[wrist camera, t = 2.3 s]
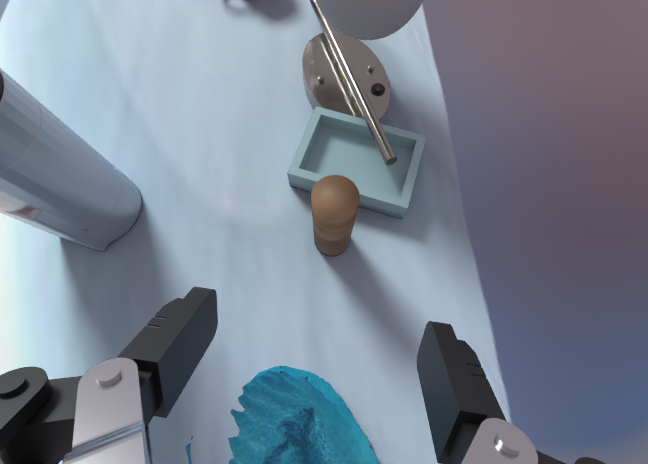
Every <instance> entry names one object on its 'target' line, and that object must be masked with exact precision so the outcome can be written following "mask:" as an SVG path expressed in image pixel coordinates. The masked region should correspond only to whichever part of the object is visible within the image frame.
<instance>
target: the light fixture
mask: <svg viewBox="0 0 648 464" xmlns="http://www.w3.org/2000/svg"><path fill="white" fill-rule="evenodd" d="M422 2H423V0H310V3H311V5H312V7H313V10H314V12H315V14H316V16H317V18H318V21H319V23H320V25H321V27H322V29H323V31H324V33H321V34H319V35H317V36H315V37H314V38H313V39H312V40H311V41H310V42H309V43H308V44H307V46H306V48H305V51H304V54H303V81H304V87H305V91H306V95H307V97H308V99H309V102H310V104H311V105H312V107H313V109H315V107H316V106H317V107H321V108H324V109H328V110H332V111H336V112H339V113H343V114H347V115H351V116H355V117H358V118H362V119H364V120H365V122H366V124H367V126H368V128H369V131H370V133H371V135H372V137H373V139H374V141H375V144H376V146H377V148H378V150H379V152H380V154H381V156H382V159H383V161H384V163H385V165H387V166H389V165H392V164H394V163H395V162H396V161H397V156H396V154H395V152H394V150H393V148H392V146H391V144H390V142H389V140H388V138H387V136H386V134H385V132H384V130H383V127H382V125H381V124H383V122H384V120H385V117H386V113H387V110H388V106H389V102H390V85H389V81H388V77H387V75H386V72H385V70H384V68H383V66H382V64H381V62H380V61H379V59H378V58H377V57H376V55H375V54H374V53H373V52H372V51H371V50H370V49H369V48H368V47H367V46H366V45H365V44H363V43H362V42H361V41H359V40H358V39H361V40H375V39H380V38H384V37H386V36H389V35H391V34H393V33H395V32H396V31H398V30H399V29H400V28H402V27H403V26H404V25H405V24H406V23H407V22H408V21H409V20H410V19H411V18H412V17H413V16H414V14H415V13H416V12H417V10H418V9H419V7H420V5H421V4H422ZM333 26H334V27H336V28H337V29H338V30H339V31H340V32H336V31H335V29H334V27H333ZM341 32H342V33H341Z"/></svg>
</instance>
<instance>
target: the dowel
mask: <svg viewBox="0 0 648 464" xmlns="http://www.w3.org/2000/svg"><path fill="white" fill-rule="evenodd" d="M359 200H360V194H359V190H358V188H357V186H356V185H355V184H354V182H353V181H351V180H350V179H348V178H347V177H344V176H341V175H329V176H326V177H324V178H322V179H320V180H319V181H318V182H317V183H316V184H315V185H314V187H313V189H312V192H311V205H312V217H313V229H314V241H315V245H316V247H317V249H318V250H319V251H320V252H321V253H322V254H324V255H327V256H337V255H340V254H342V253H343V252H344V251H345V250H346V249H347V247H348V245H349V241H350V237H351V233H352V229H353V225H354V221H355V216H356V212H357V208H358V204H359Z"/></svg>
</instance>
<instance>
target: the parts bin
mask: <svg viewBox="0 0 648 464" xmlns="http://www.w3.org/2000/svg"><path fill="white" fill-rule="evenodd" d="M381 125H382V127H383V130H384V132H385V134H386V136H387V138H388V140H389V142H390V144H391V146H392V148H393V150H394V152H395V154H396V156H397V161H396V162H395V163H394V164H392V165H389V166H387V165H385V163H384V161H383V159H382V156H381V154H380V152H379V150H378V148H377V146H376V144H375V141H374V139H373V137H372V135H371V133H370V131H369V128H368V126H367V124H366V122H365V120H364V119H362V118H358V117H355V116H351V115H347V114H343V113H339V112H336V111H332V110H328V109H324V108H321V107H317V106H316V107H315V109H314V112H313V114H312V116H311V119H310V121H309V123H308V126H307V128H306V130H305V133H304V135H303V137H302V140H301V142H300V144H299V147H298V149H297V151H296V154H295V156H294V158H293V161H292V163H291V166H290V168H289V170H288V173H287V174H288V179H289V183H290V186H292V187H296V188H299V189H302V190H306V191H309V192H312V189H313V187H314V185H315V184H316V183H317V182H318V181H319V180H320V179H322V178H324V177H326V176H329V175H341V176H344V177H347V178H348V179H350V180H351V181H353V182H354V184H355V185H356V186H357V188H358V190H359V194H360V200H359V204H358V206H359V207H363V208H366V209H369V210H373V211H376V212H380V213H383V214H386V215H390V216H393V217H396V218H400V219H402V217H403V216H404V214H405V212H406V211H407V209H408V206H409V202H410V199H411V195H412V191H413V187H414V183H415V179H416V176H417V172H418V168H419V164H420V160H421V157H422V153H423V149H424V145H425V141H426V137H427V136H426V135H422V134H418V133H415V132H411V131H407V130H403V129H400V128H396V127H392V126H388V125H385V124H381Z"/></svg>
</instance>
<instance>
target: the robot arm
mask: <svg viewBox="0 0 648 464" xmlns="http://www.w3.org/2000/svg"><path fill="white" fill-rule="evenodd" d="M141 203H142V201H141V194H140V192H139V190H138V188H137V187H136V185H135V184H134V183H133V182H132V181H131V180H130V179H128V177H126V175H124V174H123V173H122V172H121V171H119V170H118V169H117V168H116V167H114V166H113V165H112V164H111V163H110V162H109V161H107V160H106V159H105V158H104V157H103V156H102V155H101V154H99V153H98V152H97V151H96V150H95V149H94V148H92V147H91V146H90V145H89V144H88V143H87V142H85V141H84V140H83V139H82V138H81V137H80V136H78V135H77V134H76V133H75V132H74V131H73V130H71V129H70V128H69V127H68V126H67V125H66V124H64V123H63V122H62V121H61V120H60V119H59V118H57V117H56V116H55V115H54V114H53V113H52V112H51V111H49V110H48V109H47V108H46V107H45V106H44V105H42V104H41V103H40V102H39V101H38V100H37V99H35V98H34V97H33V96H32V95H31V94H30V93H29V92H27V91H26V90H25V89H24V88H23V87H22V86H20V85H19V84H18V83H17V82H16V81H15V80H13V79H12V78H11V77H10V76H9V75H8V74H6V73H5V72H4V71H3V70H2V69H1V68H0V213H3V214H5V215H8V216H10V217H12V218H15V219H17V220H20V221H22V222H24V223H27V224H29V225H32V226H34V227H36V228H39V229H41V230H44V231H46V232H48V233H51V234H53V235H56V236H58V237H61V238H64V239H67V240H70V241H72V242H75V243H78V244H81V245H84V246H87V247H90V248H93V249H95V250H98V251H102V252H103V251H104V250H105V249H106V247H107V246H108V245H109V243H111V242H112V241H114V240H116V239H118V238H119V237H121V236H122V235H123V234H125V233H126V232H127V231H128V230H129V229H130V228H131V227H132V226H133V224H134V223H135V221H136V220H137V218H138V216H139V213H140V210H141ZM217 324H218V317H217V295H216V291H215V290H214V289H207V288H201V287H193V288H192V289H191V291H190V292H189V293H188V294H187V295H186V296H185V298H184V299H181V298H177V299H175V300H173V301H172V302H170V303H168V304H166V305H165V306H164V307H163V308H162V309H161V310H160V311H159V312H158V313H157V314H156V315H155V318H153V319H152V320H151V321H150V322H149V323H148V325H147V326H145V327H144V329H143V330H142V331H141V332H140V333H139V334H138V335H137V336H136V337H135V338H134V339H133V341H132V342H131V343H130V344H129V345H128V346H127V347H126V348H125V349H124V350H123V351H122V353H121V354H120V355H119V356H118V357H117V358H113V359H109V360H106V361H103V362H101V363H99V364H97V365H95V366H94V367H92V368H91V369H89V370H88V371H87V372H86V373H85V374H84V375H83V376H78V377H69V378H60V379H51V380H49V379H48V377H47V374H46V372H45V371H44V370H43V369H41V368H39V367H24V368H19V369H15V370H12V371H9V372H7V373H5V374H2V375H0V464H58V463H59V462H60V461H61V460H63V464H153V456H152V447H151V438H150V429H149V422H150V421H151V419H152V417H153V416H158V417H164V418H166V417H167V416H168V414H169V412H170V411H171V409H172V407H173V406H174V404H175V402H176V401H177V399H178V397H179V395H180V394H181V392H182V390H183V389H184V387H185V385H186V384H187V382H188V380H189V379H190V377H191V375H192V373H193V372H194V370H195V368H196V367H197V365H198V363H199V362H200V360H201V358H202V357H203V355H204V353H205V352H206V350H207V348H208V346H209V345H210V343H211V341H212V340H213V338H214V336H215V333H216V330H217ZM417 369H418V374H419V379H420V384H421V388H422V393H423V397H424V402H425V407H426V411H427V416H428V421H429V425H430V430H431V435H432V439H433V444H434V448H435V453H436V458H437V462H438V463H440V464H565V463H563V462H561V461H559V460H556V459H554V458H552V457H550V456H548V455H545V454H543V453H541V452H539V451H537V450H535V447H534V446H533V444H532V442H531V441H530V440H529V438H528V437H527V436H526V435H525V434H524V433H523V432H522V431H521V430H519V429H518V428H517V427H515V426H514V425H512V424H511V423H509V422H507V421H506V419H505V417H504V415H503V412H502V410H501V408H500V406H499V404H498V401H497V399H496V397H495V395H494V393H493V390H492V388H491V386H490V384H489V382H488V379H486V375H485V373H484V371H483V368H481V364H480V362H479V359H478V357H477V355H476V353H475V352H474V351H473V350H472V348H471V347H470V346H469V345H468V344H467V343H466V342H465V341H462V340H457V338H456V335H455V333H454V331H453V328H452V326H451V325H450V324H445V323H439V322H432V321H429V322H428V323H427V325H426V328H425V331H424V334H423V338H422V341H421V344H420V347H419V351H418V355H417ZM574 464H605V463H603V462H601V461H599V460H596V459H593V458H588V457H583V458H579V459H578V460H577V461H576V462H575V463H574Z"/></svg>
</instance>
